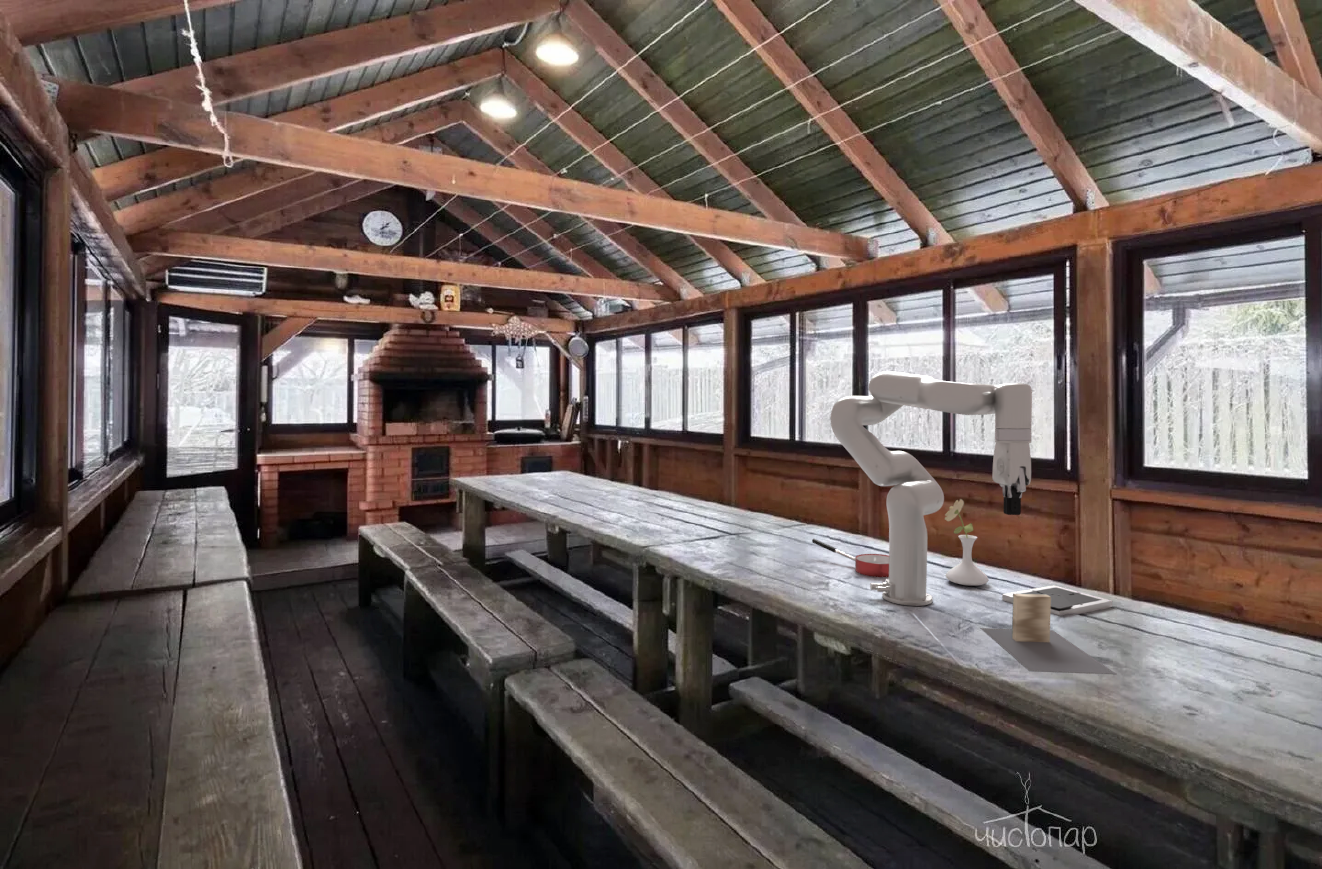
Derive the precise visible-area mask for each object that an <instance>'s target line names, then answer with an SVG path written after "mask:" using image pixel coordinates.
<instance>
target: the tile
mask: <svg viewBox="0 0 1322 869" xmlns="http://www.w3.org/2000/svg"><path fill="white" fill-rule="evenodd" d="M1050 612H1051V597H1050V596H1048V595H1047V594H1013V603H1012V620H1011V621H1012V622H1011V623H1012V625H1011V627H1012V628H1011V629H1012V638H1013V639H1014V640H1015V641H1024V642H1050V630H1051V613H1050Z"/></svg>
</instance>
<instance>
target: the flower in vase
mask: <svg viewBox="0 0 1322 869" xmlns="http://www.w3.org/2000/svg"><path fill="white" fill-rule="evenodd" d="M964 506H965V501H964V500H963V499H962V498H959V500H958V499H957V500H955V502H954V503H953V506H952V505H951V506H949V508H948V509H949V510H948V511H947V512H946V513H945V514H944V521H945V520H946V521H947V522H950V521H952V520H954V519H955V518H956V517H957V516H958V517H959V519H960V522H961V525H960V526H958V527H956V528H955V529H954V530H953V534H956V535H957V534H960V533H961V532H962V531H964V533H965V534H960V535H957V536H958V538H959V540H960V541H961V546H962V559H961V562H960V563H958V564H957V565H955V566H953V567H952V568H950V569H949V570H948V571H947V572H946V573H945V578H946V579H947V580H948V581H949V582H952V583H954V584H959V585H963V586H971V587H972V586H982V585H986V584H987V583H988V582H989V578H988V576H987V575H986V573H984V572H983V570H981V569H980V568H979V567H978V566H976V565H975V563H974V561H973V559H972V553H973V552H972V550H973V546H974V543H975V541H977V539H978V536H976V535H969V534H968V533H971V532H973V531H974V526H973V523H969V524H966V525H965V524H964V521H963V518H962V516H961V514H960V512H961V511H962V509H963V508H964ZM964 525H965V526H964Z"/></svg>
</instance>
